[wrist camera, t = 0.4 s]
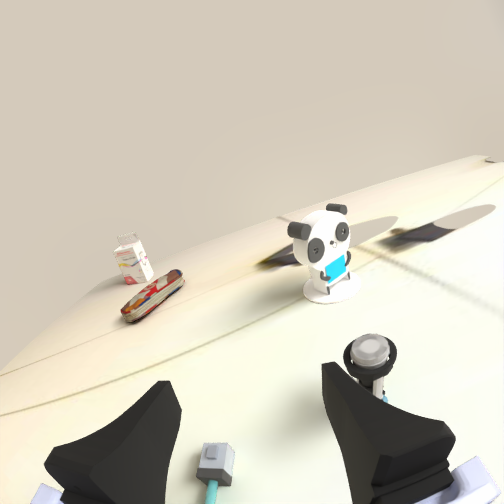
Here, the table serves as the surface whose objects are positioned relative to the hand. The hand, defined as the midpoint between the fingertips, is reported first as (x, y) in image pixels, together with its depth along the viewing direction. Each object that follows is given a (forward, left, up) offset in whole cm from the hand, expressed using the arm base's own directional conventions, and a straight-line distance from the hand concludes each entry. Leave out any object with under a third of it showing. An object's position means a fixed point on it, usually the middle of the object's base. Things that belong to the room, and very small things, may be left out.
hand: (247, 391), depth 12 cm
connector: (+5, +9, -19) cm, 22 cm away
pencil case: (+46, +32, -20) cm, 60 cm away
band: (+2, +9, -19) cm, 21 cm away
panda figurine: (+38, -8, -20) cm, 44 cm away
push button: (+11, -8, -20) cm, 24 cm away
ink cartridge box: (+62, +45, -20) cm, 79 cm away
